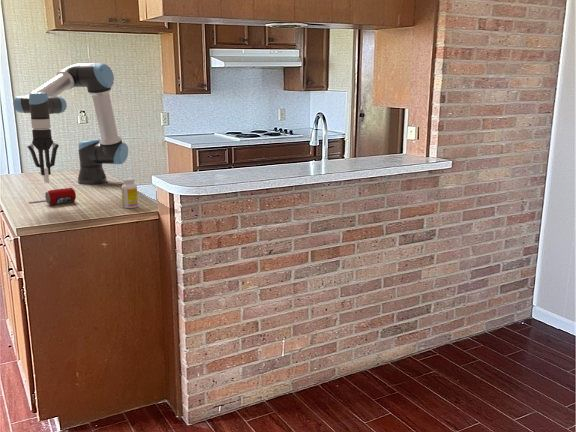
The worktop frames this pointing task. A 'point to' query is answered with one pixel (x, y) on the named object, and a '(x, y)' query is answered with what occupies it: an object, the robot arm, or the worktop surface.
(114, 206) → the worktop surface
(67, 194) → the beverage can
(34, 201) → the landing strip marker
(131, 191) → the supplement bottle
